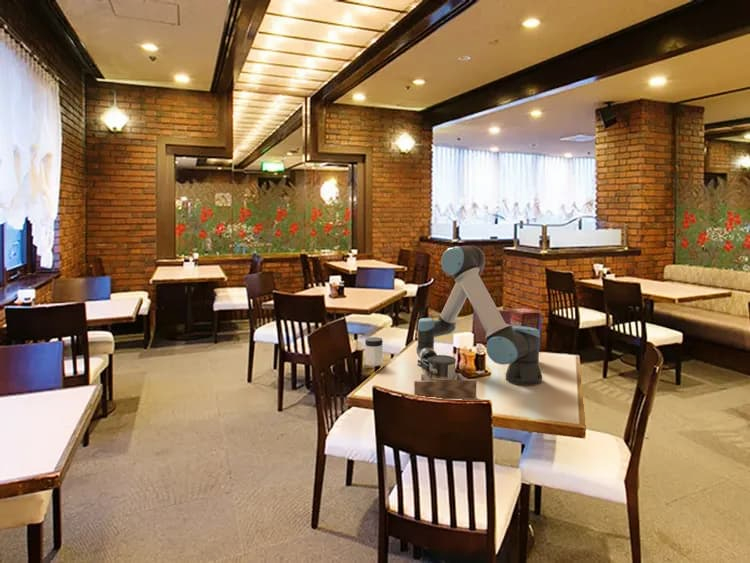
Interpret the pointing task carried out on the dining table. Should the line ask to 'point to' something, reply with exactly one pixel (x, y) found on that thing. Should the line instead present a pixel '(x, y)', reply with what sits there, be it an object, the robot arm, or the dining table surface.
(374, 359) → the jar
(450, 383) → the walnut dock
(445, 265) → the robot arm
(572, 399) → the dining table surface
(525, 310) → the food packaging
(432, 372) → the coffee can
